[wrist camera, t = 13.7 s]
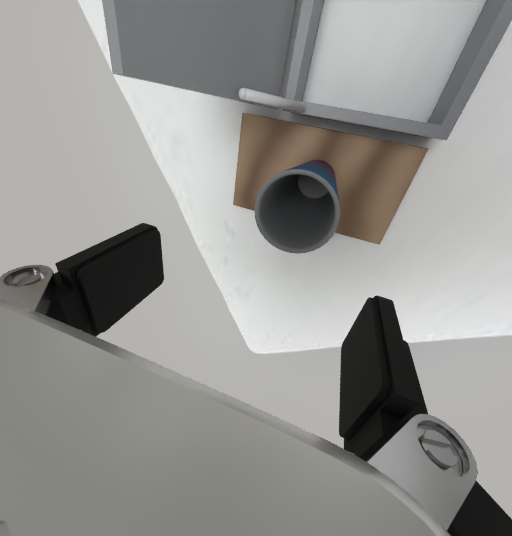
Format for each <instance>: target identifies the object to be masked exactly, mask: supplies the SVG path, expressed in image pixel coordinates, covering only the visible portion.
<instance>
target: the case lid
mask: <svg viewBox="0 0 512 536" xmlns="http://www.w3.org/2000/svg"><path fill="white" fill-rule="evenodd" d="M102 2H103V9H104V16H105V23H106V29H107V36H108V43H109V50H110V57H111V64H112V71H113V74H117V75H122V76H126V77H131V78H136V79H140V80H145V81H149V82H154V83H159V84H163V85H168V86H172V87H177V88H182V89H186V90H191V91H195V92H200V93H204V94H209V95H214V96H218V97H223V98H227V99H232V100H237V101H241V102H246V103H250V104H255V105H259V106H264V107H269V108H274V109H278V107H275V106H270V105H266V104H261V103H256V102H252V101H247V100H243V99H241V98H240V97H239V90H240V89H241V88H247V89H251V90H255V91H259V92H263V93H267V94H271V95H275V96H279V97H280V91H281V86H282V80H283V74H284V68H285V62H286V56H287V51H288V45H289V39H290V33H291V27H292V21H293V15H294V10H295V4H296V0H102Z"/></svg>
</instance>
